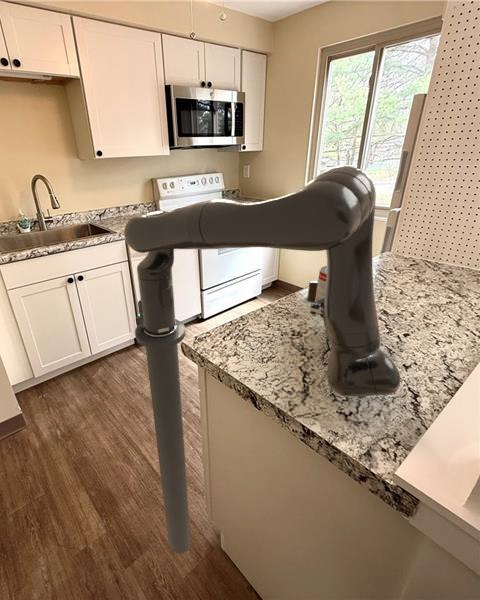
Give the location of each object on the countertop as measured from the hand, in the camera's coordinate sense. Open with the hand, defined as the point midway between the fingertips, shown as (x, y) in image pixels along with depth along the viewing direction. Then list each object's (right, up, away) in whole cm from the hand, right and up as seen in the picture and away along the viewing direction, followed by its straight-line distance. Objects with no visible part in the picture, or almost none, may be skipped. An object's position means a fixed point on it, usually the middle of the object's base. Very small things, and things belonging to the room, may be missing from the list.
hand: (334, 295), depth 83 cm
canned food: (+3, -4, +7) cm, 8 cm away
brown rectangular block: (+5, -1, +12) cm, 12 cm away
